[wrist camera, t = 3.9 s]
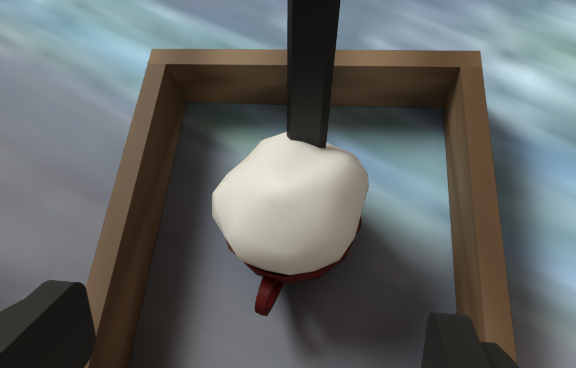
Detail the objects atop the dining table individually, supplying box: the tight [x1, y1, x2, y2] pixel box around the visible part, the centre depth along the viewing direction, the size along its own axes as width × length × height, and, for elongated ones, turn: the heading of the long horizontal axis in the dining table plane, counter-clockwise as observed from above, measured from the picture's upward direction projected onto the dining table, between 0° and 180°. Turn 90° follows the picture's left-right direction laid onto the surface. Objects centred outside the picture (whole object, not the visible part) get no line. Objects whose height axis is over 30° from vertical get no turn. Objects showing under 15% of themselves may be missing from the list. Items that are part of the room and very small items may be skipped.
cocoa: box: [212, 0, 369, 316], centre depth 16 cm, size 10×6×12 cm, turn 140°
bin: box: [84, 49, 517, 368], centre depth 20 cm, size 17×17×4 cm
